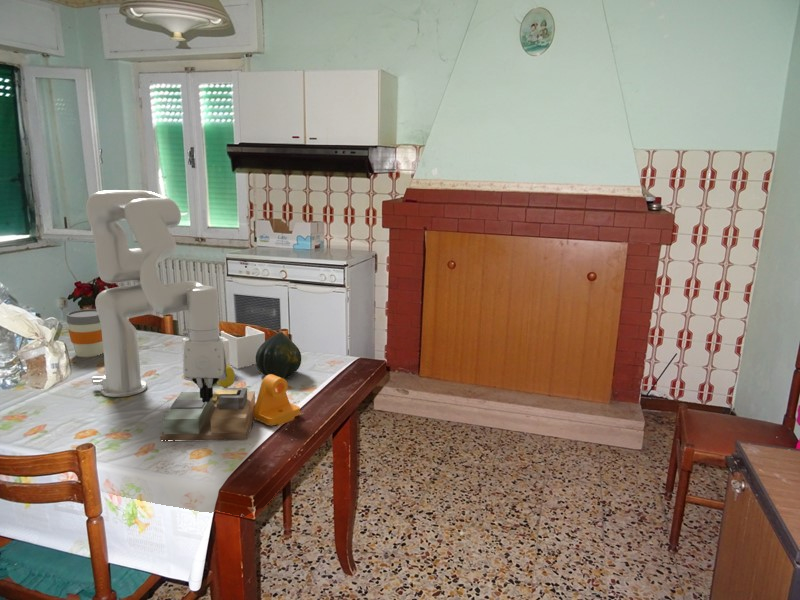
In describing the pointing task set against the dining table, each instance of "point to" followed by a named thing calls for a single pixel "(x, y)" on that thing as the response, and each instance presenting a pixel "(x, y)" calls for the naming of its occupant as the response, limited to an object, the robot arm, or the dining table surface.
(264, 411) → the bracket
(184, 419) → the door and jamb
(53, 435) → the dining table surface
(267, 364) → the squash
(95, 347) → the reusable coffee cup
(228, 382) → the lemon
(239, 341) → the storage container
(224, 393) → the brass bolt
